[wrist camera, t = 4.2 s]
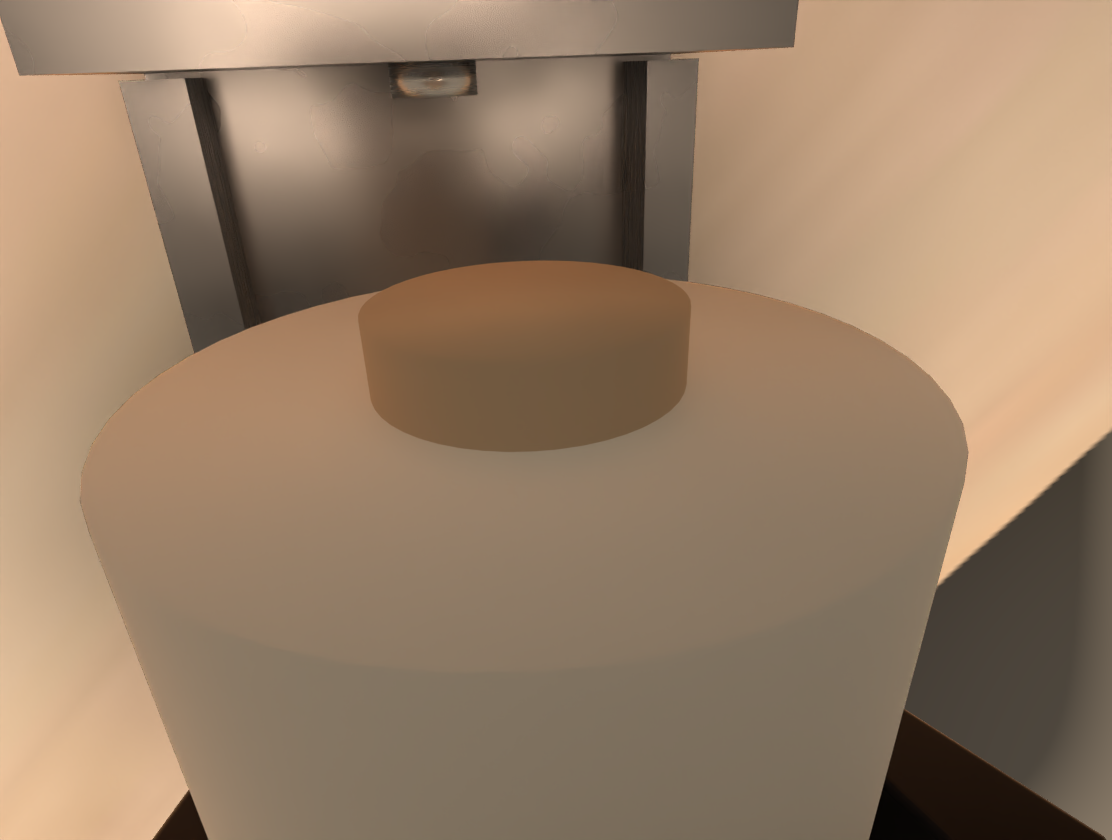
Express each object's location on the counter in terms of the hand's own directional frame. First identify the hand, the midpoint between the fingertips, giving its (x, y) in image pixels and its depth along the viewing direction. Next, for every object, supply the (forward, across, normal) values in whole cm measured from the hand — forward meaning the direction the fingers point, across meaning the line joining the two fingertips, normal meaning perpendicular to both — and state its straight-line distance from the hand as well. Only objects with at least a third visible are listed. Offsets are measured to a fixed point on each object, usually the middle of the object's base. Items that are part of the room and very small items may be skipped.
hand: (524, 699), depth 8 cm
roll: (+1, 0, 0) cm, 1 cm away
